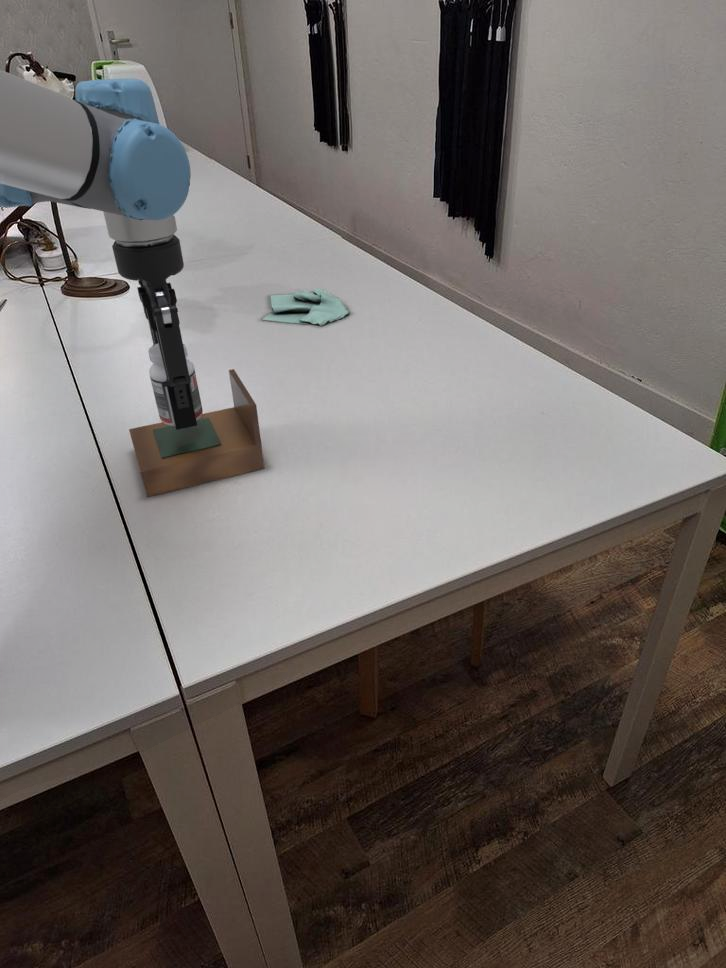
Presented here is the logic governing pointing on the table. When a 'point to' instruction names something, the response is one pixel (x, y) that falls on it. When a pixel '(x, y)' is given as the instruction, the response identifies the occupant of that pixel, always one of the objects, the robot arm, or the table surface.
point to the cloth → (306, 308)
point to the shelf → (201, 446)
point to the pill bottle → (161, 392)
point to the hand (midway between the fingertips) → (181, 415)
